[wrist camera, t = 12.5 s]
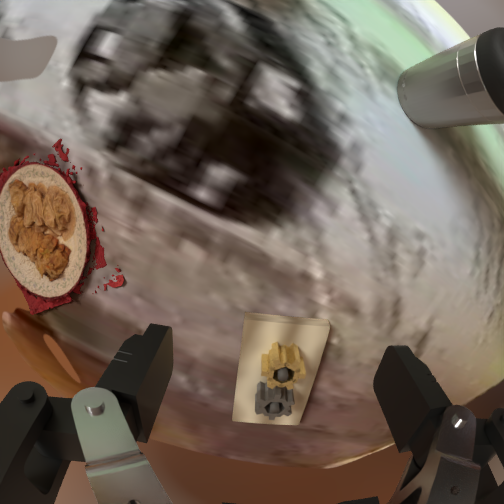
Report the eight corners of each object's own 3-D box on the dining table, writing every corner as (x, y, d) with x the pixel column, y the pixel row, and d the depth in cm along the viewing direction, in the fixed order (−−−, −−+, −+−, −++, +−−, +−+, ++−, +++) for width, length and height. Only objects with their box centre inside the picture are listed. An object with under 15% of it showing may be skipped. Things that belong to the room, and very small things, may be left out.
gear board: (327, 319, 41) (337, 345, 35) (297, 417, 48) (300, 443, 42) (245, 311, 41) (242, 337, 35) (232, 412, 48) (230, 439, 41)
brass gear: (306, 343, 40) (309, 360, 36) (298, 373, 42) (301, 390, 38) (263, 340, 40) (264, 357, 36) (258, 370, 42) (258, 388, 38)
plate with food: (36, 310, 44) (27, 319, 40) (-12, 187, 36) (-25, 190, 33) (129, 280, 41) (120, 290, 38) (71, 122, 33) (59, 120, 30)
